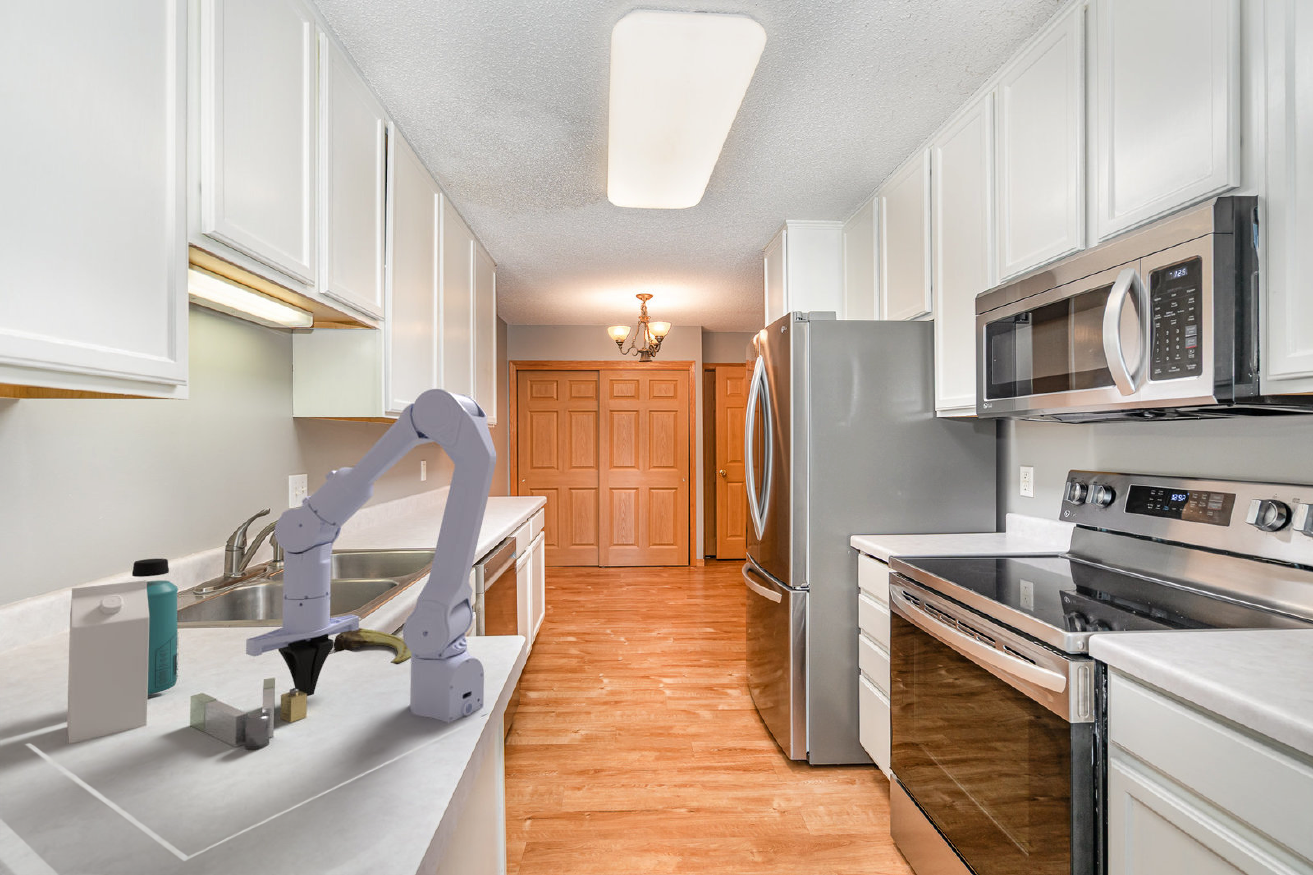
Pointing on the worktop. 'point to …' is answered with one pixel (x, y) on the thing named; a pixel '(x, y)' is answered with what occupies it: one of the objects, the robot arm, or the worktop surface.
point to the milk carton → (108, 660)
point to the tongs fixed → (229, 722)
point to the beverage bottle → (160, 625)
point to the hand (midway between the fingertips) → (305, 694)
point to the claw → (371, 642)
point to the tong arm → (269, 701)
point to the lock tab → (293, 705)
